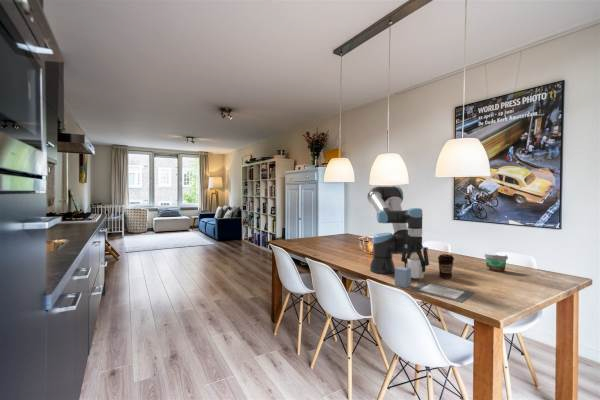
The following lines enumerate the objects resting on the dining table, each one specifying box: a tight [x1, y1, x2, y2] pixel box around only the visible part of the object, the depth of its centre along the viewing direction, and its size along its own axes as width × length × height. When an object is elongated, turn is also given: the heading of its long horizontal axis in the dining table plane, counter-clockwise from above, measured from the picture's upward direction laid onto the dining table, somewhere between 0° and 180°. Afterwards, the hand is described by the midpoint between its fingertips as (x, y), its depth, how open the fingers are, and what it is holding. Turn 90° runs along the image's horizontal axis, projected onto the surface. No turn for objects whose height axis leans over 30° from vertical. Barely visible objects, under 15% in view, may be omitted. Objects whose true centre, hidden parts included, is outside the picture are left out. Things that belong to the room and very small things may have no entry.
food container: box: [483, 253, 509, 273], centre depth 179 cm, size 12×6×10 cm, turn 68°
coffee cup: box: [437, 253, 455, 280], centre depth 167 cm, size 9×8×13 cm
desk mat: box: [410, 281, 475, 304], centre depth 145 cm, size 24×18×1 cm
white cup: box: [407, 256, 422, 279], centre depth 164 cm, size 8×8×10 cm
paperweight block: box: [394, 266, 412, 289], centre depth 154 cm, size 6×6×9 cm
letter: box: [420, 284, 464, 299], centre depth 145 cm, size 17×13×1 cm
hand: (414, 275), depth 164 cm, fingers closed on white cup, 7 cm apart
